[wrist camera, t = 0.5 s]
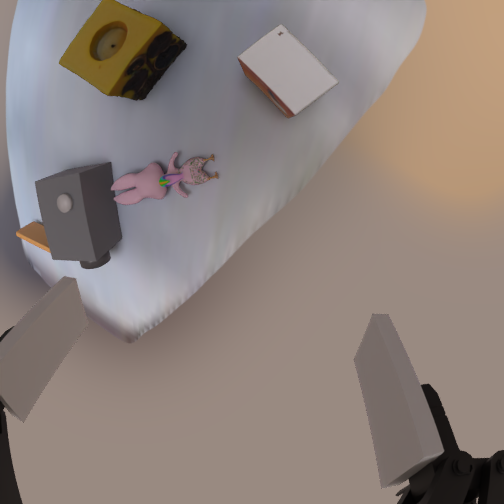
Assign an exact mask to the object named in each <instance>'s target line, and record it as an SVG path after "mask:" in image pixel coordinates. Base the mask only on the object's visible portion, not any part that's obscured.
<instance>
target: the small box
mask: <svg viewBox="0 0 504 504" xmlns="http://www.w3.org/2000/svg"><path fill="white" fill-rule="evenodd" d="M237 58H238V60H239V62H240V64H241V67H242V69H243V71H244V73H245V75H246V76H247V77H248V78H249V79H250V80H251V81H252V82H253V83H254V84H255V85H256V86H257V87H258V88H259V89H260V90H261V91H262V92H263V93H264V94H265V95H266V96H267V97H268V98H269V99H270V100H271V101H272V102H273V103H274V104H275V105H276V106H277V107H278V108H279V109H280V111H281V112H282V113H283V114H284V115H285V116H286V117H287V118H290V117H293V116H296V115H297V114H298V113H300V112H301V111H302V110H304V109H305V108H306V107H308V106H309V105H310V104H312V103H313V102H314V101H316V100H317V99H318V98H320V97H321V96H322V95H324V94H325V93H326V92H327V91H329V90H330V89H331V88H333V87H334V86H336V85H337V84H338V83H339V81H338V80H337V79H336V78H335V77H334V76H333V75H332V74H331V73H330V72H329V71H328V70H327V69H326V68H325V67H324V66H323V64H322V63H321V62H320V61H319V60H318V59H317V58H316V57H315V56H314V55H313V54H312V53H311V52H310V51H309V50H308V49H307V48H306V47H305V46H304V45H303V44H302V43H301V42H300V41H299V40H298V39H297V38H296V37H295V36H294V35H293V34H292V33H291V32H290V31H289V30H288V29H287V28H286V27H285V26H284V25H283V24H280V25H279V26H277V27H276V28H275V29H273V30H272V31H270V32H269V33H268V34H266V35H265V36H264V37H262V38H261V39H260V40H258V41H257V42H256V43H254V44H253V45H252V46H250V47H249V48H248V49H247V50H245V51H244V52H243V53H242V54H240V55H239V56H238V57H237Z"/></svg>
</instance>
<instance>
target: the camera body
mask: <svg viewBox="0 0 504 504" xmlns="http://www.w3.org/2000/svg"><path fill="white" fill-rule="evenodd" d="M35 185H36V191H37V197H38V202H39V207H40V212H41V217H42V221H43V225H44V229H45V233H46V237H47V241H48V245H49V248H50V252H51V255H52V259H53V260H72V261H80V264H81V267H82V268H85V269H94V268H98V267H101V266H103V265H104V264H106V263H107V262H109V260H110V259H111V257H110V252H109V250H110V249H111V248H112V247H113V246H114V245H115V244H116V243H117V242H118V241H120V240H121V239H122V234H121V229H120V223H119V217H118V211H117V205H116V201H115V200H114V197H115V192H114V190H111V187H112V185H113V176H112V168H111V162H109V163H103V164H96V165H90V166H84V167H79V168H74V169H68V170H65V171H62V172H59V173H57V174H54V175H51V176H48V177H46V178H43V179H41V180H38V181H36V182H35Z"/></svg>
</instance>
